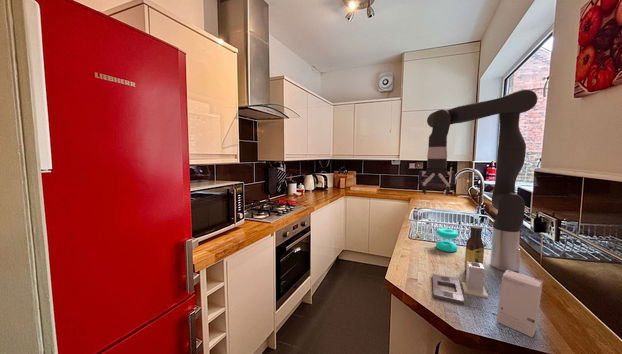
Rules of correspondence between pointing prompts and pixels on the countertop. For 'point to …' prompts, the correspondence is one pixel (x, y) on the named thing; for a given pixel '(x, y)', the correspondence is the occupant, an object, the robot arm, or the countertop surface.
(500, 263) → the robot arm
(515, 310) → the skincare box
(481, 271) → the square post
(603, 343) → the countertop surface
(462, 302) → the rectangular plate with hole
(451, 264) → the countertop surface
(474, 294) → the pad
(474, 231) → the sauce bottle
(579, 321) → the countertop surface
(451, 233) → the donuts
